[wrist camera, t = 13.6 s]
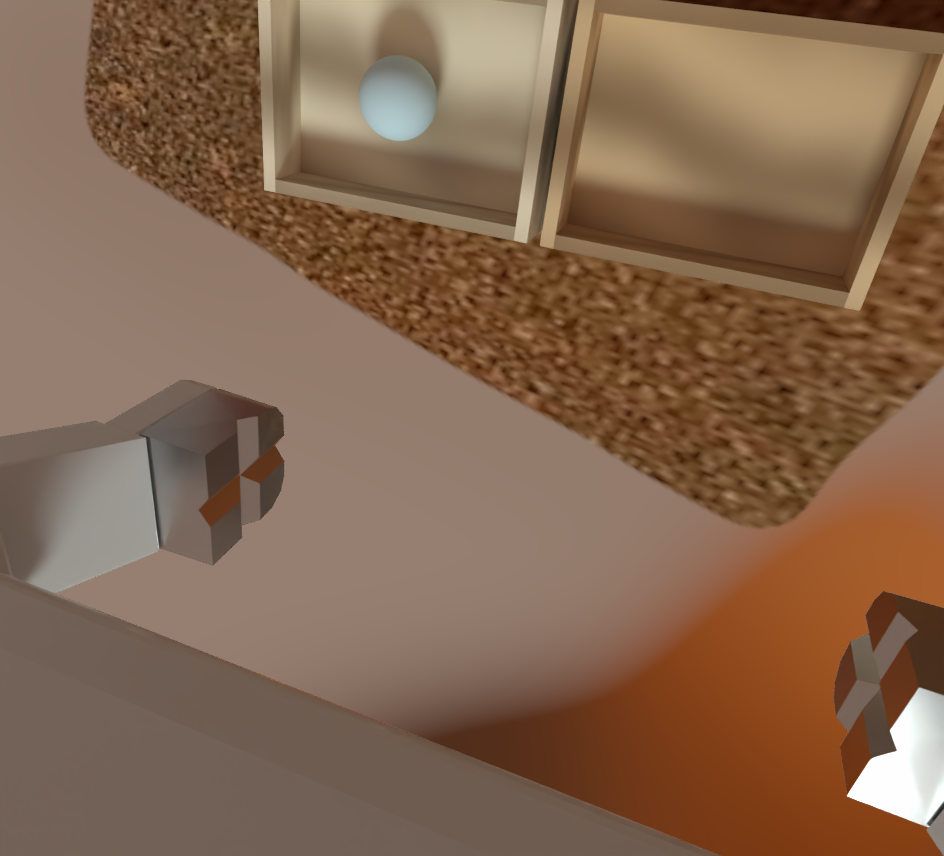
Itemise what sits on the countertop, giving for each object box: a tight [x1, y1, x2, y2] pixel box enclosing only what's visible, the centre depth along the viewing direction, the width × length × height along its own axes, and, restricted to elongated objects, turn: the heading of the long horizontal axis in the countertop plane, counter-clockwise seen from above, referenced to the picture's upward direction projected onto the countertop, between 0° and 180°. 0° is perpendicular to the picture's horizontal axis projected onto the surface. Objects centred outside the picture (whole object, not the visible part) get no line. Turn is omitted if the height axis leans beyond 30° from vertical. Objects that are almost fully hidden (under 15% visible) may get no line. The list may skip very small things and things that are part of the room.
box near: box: [540, 0, 944, 311], centre depth 29 cm, size 10×13×3 cm
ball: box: [359, 55, 437, 141], centre depth 31 cm, size 3×3×3 cm
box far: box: [258, 0, 579, 243], centre depth 32 cm, size 10×13×3 cm
